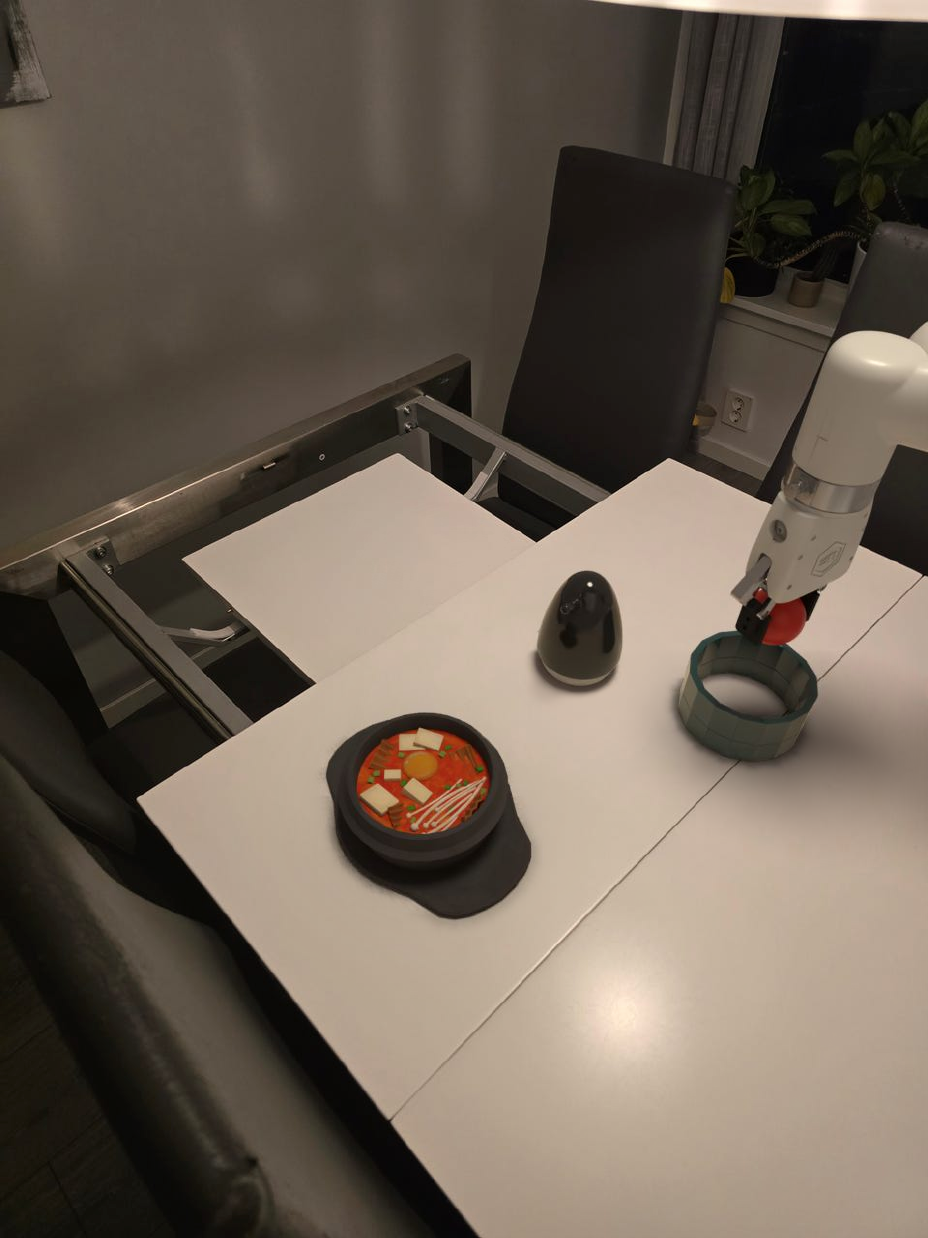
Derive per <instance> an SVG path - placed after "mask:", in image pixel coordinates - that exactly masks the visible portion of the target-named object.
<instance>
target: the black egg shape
mask: <svg viewBox="0 0 928 1238" xmlns="http://www.w3.org/2000/svg"><path fill="white" fill-rule="evenodd" d="M554 593H555V594H554V595H553V597H552V599H551V600H550V603H549V604H548V606H547V608H546V611H545V613H544V615H543V618H542V621H541V624H540V627H539V631H538V634H537V639H536V650H537V654H538V656H539V659H540V660H541V662H542V665H543V666H544V668H545V670H546V671H547V672H548V673H549V674H550V675H551V677H552V678H554V679H556V680H557V681H559V682H561V683H563V684H566V685H569V686H576V687H588V686H591V685H595V684H598V683H599V682H601V681H602V680H604V679H605V678H606V677H608V676H609V675H610V674H611V672H612V671H613V670H615V668H616V667H617V665H619V662H620V660H621V657H622V652H623V645H624V644H623V641H624V640H623V637H624V636H623V633H624V632H623V620H622V614H621V610H620V605H619V601H618V597H617V595H616V593H615V589H614V588H613V586H612V585H611V583H610V582H609V580H608V579H607V578H606V577H605V576H604V575H603V574H601V573H599V572H597V571H594V570H587V569H586V570H580V571H577V572H575V573H573V574H571V575H570V576H568V578H566V580H564V581H563V583H562V584H561V585H560V586H559V588H558V589H557V590H556V592H554Z"/></svg>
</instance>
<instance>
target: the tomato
mask: <svg viewBox="0 0 928 1238" xmlns="http://www.w3.org/2000/svg"><path fill="white" fill-rule="evenodd" d="M767 597H768V594H767V593H766V592H765V591H763V590H762V589H759V591H758V593H757V594H756V596H755V598H756V599H757V600H758V601H759V602H760V603H762V604H763V603H764V602H765V600H766V599H767ZM769 615H770V616H771V617H772V619H771V621H770V624H769V626H768V629H767V631H766V634H765V636H764V639H763V641H762V643H764V644H767V645H782V644H789V643H790V642H792V641H794V640H795V639H797V637H799V636H800V635H801V633H802V632H803V630H804V628H805V626H806V624H807V622H806V609H805V606H804V604H803V602H802V600H801V599H800V598H797V599H794V600H792V601H789V602H786V603H776V604H775V606H774V607H773V609H772V610H771V612H770V613H769Z"/></svg>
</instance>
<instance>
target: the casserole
mask: <svg viewBox="0 0 928 1238" xmlns="http://www.w3.org/2000/svg"><path fill="white" fill-rule="evenodd" d="M325 775H326V778H327V782H328V786H329V788H330V791H331V796H332V797H333V806H334V807H333V808H334V822H335V831H336V833H337V837H338V839H339V843H340V846H341V847H342V849H343V850H344V853H345V854H346V855H347V858H348V859H349V860H350V861H351V862H352V863H353V864H354V865H355V866H356V867H357V868H358V869H359V870H360V871H361V873H363V874H365V875H367V876H368V877H369V878H370V879H372V880H374V881H375V882H378V883H380V884H382V885H386V886H388V887H390V888H393V889H395V890H397V891H399V892H400V891H401V892H403V893H405V894H408V895H410V896H411V897H413V898H414V899H416V900H418V901H419V902H420V903H422V904H424V905H425V906H427V907H429V908H430V909H432V910H433V911H435V912H437V913H438V914H440V915H447V916H452V917H457V916H458V917H459V916H463V915H469V914H473V913H475V912H479V911H481V910H483V909H485V908H488V907H490V906H491V905H493V904H494V903H496V902H498V901H500V900H501V899H503V898H504V897H505V896H506V895H507V894H508V893H509V892H510V891H511V890H513V888H514V887H515V886H516V885H517V884H518V883H519V882H520V880H521V879H522V877H523V876H524V874H525V873H526V871H527V869H528V867H529V865H530V861H531V859H532V841H531V840H530V838H529V836H528V834H527V832H526V830H525V828H524V826H523V824H522V821H521V818H520V817H519V815H518V812H517V808H516V804H515V800H514V796H513V792H512V788H511V785H510V783H509V776H508V772H507V769H506V764H505V762H504V761H503V758H502V757H501V755H500V753H499V750H498V749H497V748H496V747H495V746H494V745H493V743H491V741H490V740H489V739H488V738H486V737H485V736H484V735H483V734H482V732H480V731H479V730H478V729H476V728H475V727H474V726H472V724H470V723H468V722H466V721H464V720H462V719H460V718H458V717H455V716H451V715H448V714H445V713H439V712H430V711H429V712H421V711H419V712H412V713H406V714H402V715H399V716H395V717H392V718H390V719H386V720H383V721H379V722H377V723H376V722H375V723H373V724H371V725H369V726H366V727H364V728H363V729H360V730H359V731H357V732H356V733H354V734H352V735H351V737H349V738H347V739H346V740H345V741H344V742H343V743H341V745H340V746H339V747H338V748H337V749H336V750H335V751H334V753H333V754H332V756H331V757H330V759H329V760H328V762H327V766H326V771H325Z"/></svg>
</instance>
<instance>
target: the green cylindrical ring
mask: <svg viewBox="0 0 928 1238" xmlns="http://www.w3.org/2000/svg"><path fill="white" fill-rule="evenodd" d="M723 674H733V675H737V676H744V677H747V678H751V679H753V680H755V681H757V682H759V683H761V684H763V685H765V686H766V687H769V688H770V689H771V690H772V691H773V692H774V693H775V694H776V695H778V696H779V697H780V698H781V699H782V701H783V702H784V704H785V706H786V707H787V709H788V712H789V714H787V715H784V716H775V717H774V716H773V717H766V718H765V717H760V716H756V715H750V714H744V713H741V712H739V711H738V710H735V709H733V708H731V707H729V706H727V705H725V704H723V703H721V702H720V701H719V700H717V699H716V697H715V696H714V695H712V694H711V693H710V692H709V691H708V689H706V688H705V686H704V684H703V682H702V679H703V680H704V679H705V678H706V677H709V676H711V675H712V676H713V675H723ZM818 688H819V687H818V677H817V675H816V674H815V672H814V670H813V669H812V667H811V666H810V664H809V662H808V660H807V659H806V658H804V657H803V656H802V655H801V654H800V653H798V652H797V651H796V650H795V649H794V648H793V647H791V646H790V645H789V643H786V644H782V645H767V644H764V643H761V644H760V645H758V646H755V645H753V644H752V643H751V642H750V641H749V640H748V639H746V638H745V637H744V636H743V635H742V634H741V633H739V632H738V631H737V630H727V631H719V632H717V633H714V634H712V635H710V636H708V637H706V638H704V639H701V641H700V642H699V643H698V644H697V646H696V647H695V648H694V649H693V651H692V652H691V654H690V656H689V659H688V663H687V666H686V670H685V672H684V676H683V680H682V683H681V686H680V689H679V694H678V704H677V711H678V713H679V715H680V717H681V720H682V722H683V725H684V727H685V729H687V731H688V732H690V734H691V735H692V736H693V737H694V738H695V739H696V740H697V741H698V742H699V743H700V744H701V745H702V746H705V747H706V748H708V749H710V750H712V751H714V752H715V753H718V754H719V755H721V756H723V757H726V758H730V759H735V760H740V761H745V762H758V761H759V762H760V761H767V760H774V759H776V758H778V757H780V756H781V755H783V754H784V753H786V752H788V751H790V750H791V749H792V748H793V746H794V744H795V742H796V741H797V739H798V737H799V736H800V734H801V731H802V730H803V728H804V725H805V724H806V722H807V719H808V718H809V715H810V714H811V712H812V709H813V707H814V706H815V704H816V701H817V700H818V697H819V689H818Z"/></svg>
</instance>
